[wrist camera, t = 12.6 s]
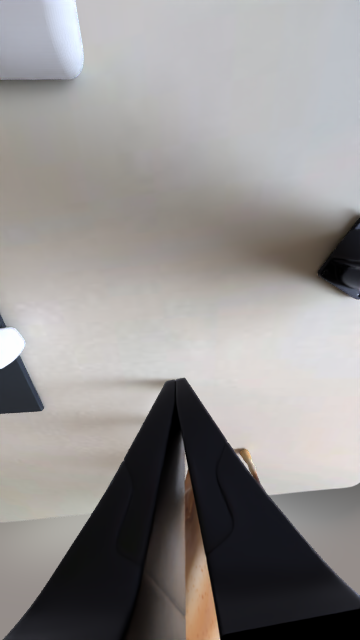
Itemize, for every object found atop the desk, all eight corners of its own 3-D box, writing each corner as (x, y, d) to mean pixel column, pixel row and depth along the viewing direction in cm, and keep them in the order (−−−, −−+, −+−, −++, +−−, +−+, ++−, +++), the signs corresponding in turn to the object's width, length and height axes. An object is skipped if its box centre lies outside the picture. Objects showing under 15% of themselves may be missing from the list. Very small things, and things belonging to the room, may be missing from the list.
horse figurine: (127, 379, 24) (-16, 873, 5) (176, 351, 23) (212, 885, 4) (229, 479, 36) (297, 745, 17) (266, 464, 34) (383, 737, 16)
